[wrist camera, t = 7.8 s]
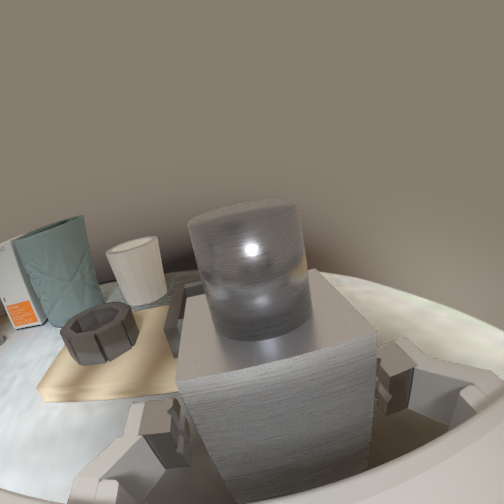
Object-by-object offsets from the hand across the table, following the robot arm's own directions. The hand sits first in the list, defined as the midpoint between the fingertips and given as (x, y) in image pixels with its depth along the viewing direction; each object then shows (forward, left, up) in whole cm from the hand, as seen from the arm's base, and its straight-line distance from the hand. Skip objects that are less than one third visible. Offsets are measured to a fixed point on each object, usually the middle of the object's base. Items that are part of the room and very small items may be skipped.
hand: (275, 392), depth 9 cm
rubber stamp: (0, -1, -7) cm, 7 cm away
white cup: (-12, +29, -7) cm, 32 cm away
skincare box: (-30, +27, -7) cm, 41 cm away
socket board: (-7, +15, -7) cm, 18 cm away
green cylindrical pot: (-22, +28, -7) cm, 36 cm away
